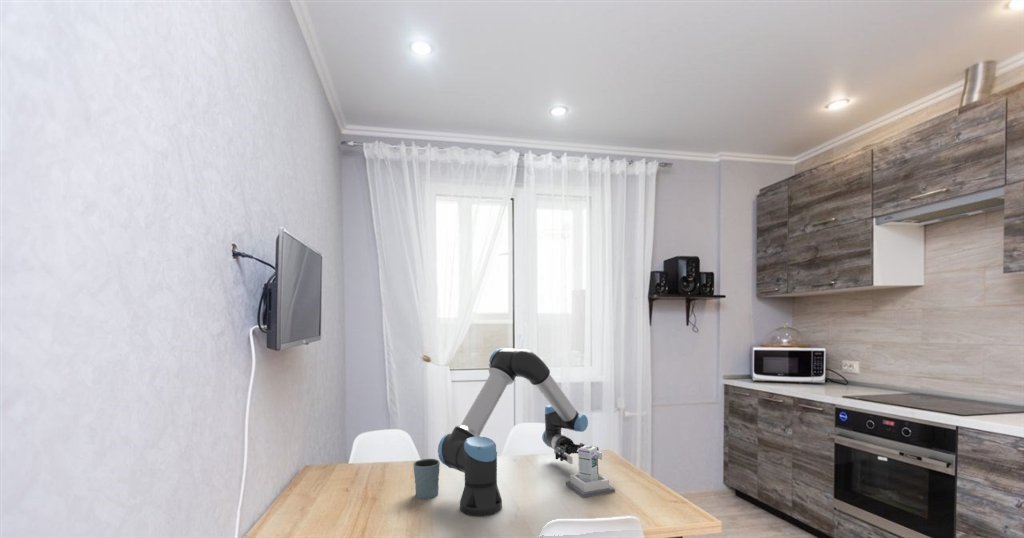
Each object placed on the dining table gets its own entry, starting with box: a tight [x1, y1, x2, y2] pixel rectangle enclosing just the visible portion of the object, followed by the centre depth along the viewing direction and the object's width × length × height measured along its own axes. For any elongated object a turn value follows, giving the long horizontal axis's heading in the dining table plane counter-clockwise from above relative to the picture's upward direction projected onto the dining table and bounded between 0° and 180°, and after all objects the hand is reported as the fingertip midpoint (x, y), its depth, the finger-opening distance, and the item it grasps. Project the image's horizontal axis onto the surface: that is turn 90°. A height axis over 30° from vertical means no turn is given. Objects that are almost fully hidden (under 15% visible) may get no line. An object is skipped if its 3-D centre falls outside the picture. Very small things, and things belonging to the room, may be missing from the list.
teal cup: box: [413, 458, 441, 500], centre depth 174 cm, size 10×10×12 cm
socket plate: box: [565, 473, 616, 498], centre depth 177 cm, size 14×14×4 cm
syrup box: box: [577, 444, 600, 483], centre depth 178 cm, size 6×6×14 cm
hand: (586, 458), depth 181 cm, fingers open, 13 cm apart
